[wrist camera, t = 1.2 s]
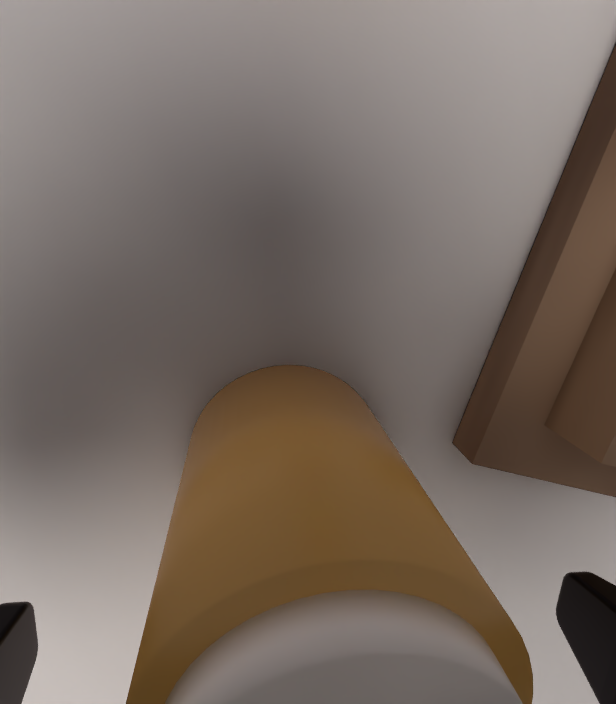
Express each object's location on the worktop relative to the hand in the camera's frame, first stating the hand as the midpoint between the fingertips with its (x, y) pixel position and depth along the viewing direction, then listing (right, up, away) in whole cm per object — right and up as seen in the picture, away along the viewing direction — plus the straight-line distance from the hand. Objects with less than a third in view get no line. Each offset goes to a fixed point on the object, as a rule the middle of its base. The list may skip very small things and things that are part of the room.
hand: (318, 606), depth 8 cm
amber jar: (-1, +1, +5) cm, 5 cm away
